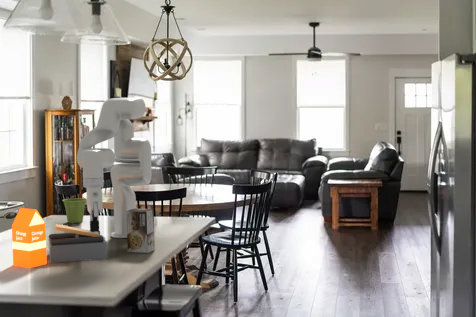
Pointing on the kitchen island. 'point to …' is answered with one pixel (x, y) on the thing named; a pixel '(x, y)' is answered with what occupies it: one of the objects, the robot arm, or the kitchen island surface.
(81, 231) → the bar
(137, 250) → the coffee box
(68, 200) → the plant pot
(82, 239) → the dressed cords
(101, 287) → the kitchen island surface
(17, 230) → the orange juice
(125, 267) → the kitchen island surface
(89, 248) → the box
